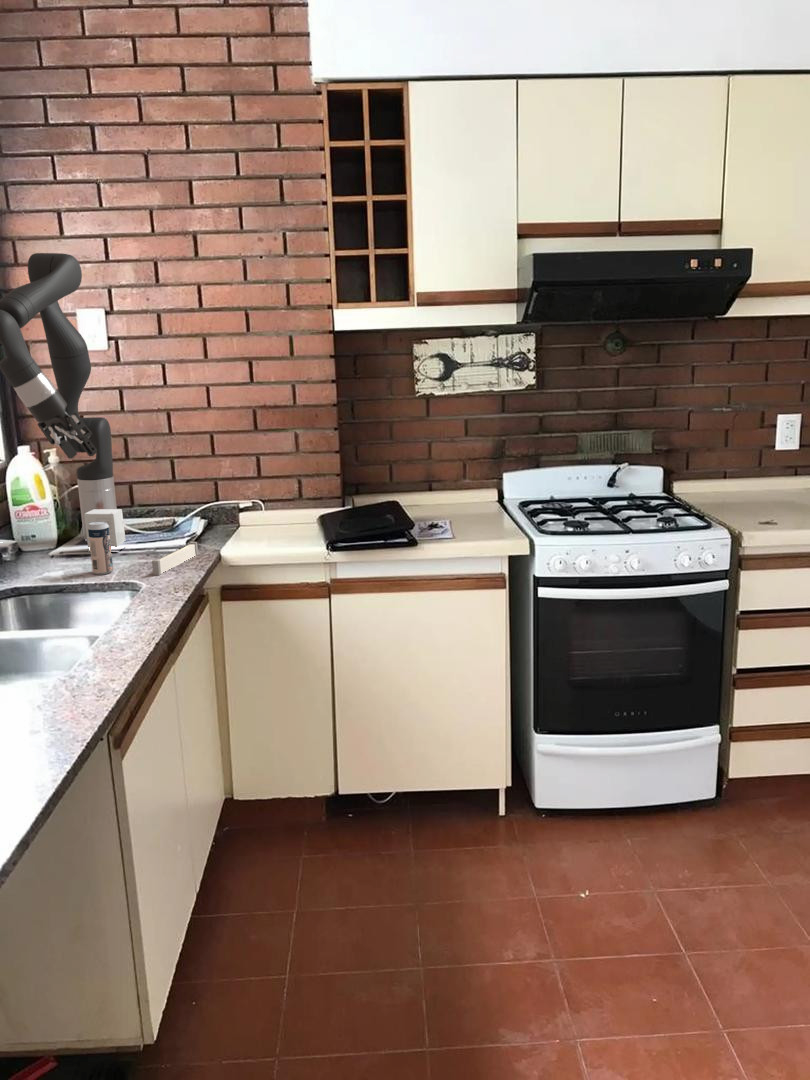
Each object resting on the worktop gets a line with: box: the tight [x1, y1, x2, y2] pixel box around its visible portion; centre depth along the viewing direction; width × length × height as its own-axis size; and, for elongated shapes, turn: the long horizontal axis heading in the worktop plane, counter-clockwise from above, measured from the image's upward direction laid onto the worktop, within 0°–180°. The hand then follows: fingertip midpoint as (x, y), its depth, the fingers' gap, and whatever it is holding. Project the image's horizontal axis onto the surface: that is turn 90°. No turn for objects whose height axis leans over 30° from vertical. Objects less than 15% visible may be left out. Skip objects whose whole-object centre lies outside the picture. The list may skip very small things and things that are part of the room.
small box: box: [84, 508, 127, 548], centre depth 220 cm, size 8×6×10 cm
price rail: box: [151, 541, 199, 576], centre depth 206 cm, size 18×2×3 cm, turn 165°
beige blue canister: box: [88, 521, 114, 576], centre depth 199 cm, size 5×5×12 cm
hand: (83, 455), depth 197 cm, fingers open, 8 cm apart
